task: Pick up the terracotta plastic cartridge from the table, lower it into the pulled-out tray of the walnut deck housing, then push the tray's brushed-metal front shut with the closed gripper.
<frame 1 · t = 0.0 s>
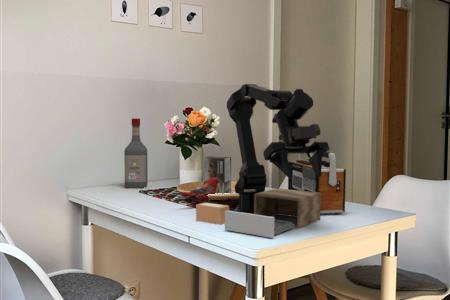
hand: (305, 177, 132), 15 cm above the table, tool tilted 35°, fingers open, 9 cm apart
liquor: (136, 187, 214), on the table
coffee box: (217, 200, 184), on the table
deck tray: (261, 219, 136), point 3 cm above the table, slide at 14.0 cm
deck housing: (287, 220, 148), on the table
decorative bird figurine: (199, 207, 168), on the table
cartridge: (212, 221, 146), on the table
radio cassette player: (314, 208, 170), on the table
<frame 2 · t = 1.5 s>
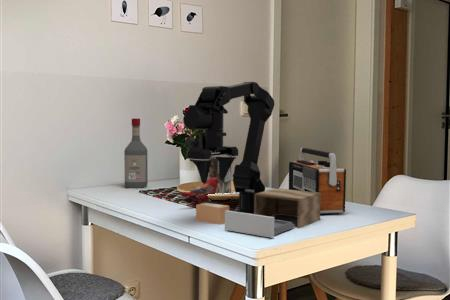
hand: (213, 181, 145), 12 cm above the table, tool pointing down, fingers open, 9 cm apart
nothing on the table moved.
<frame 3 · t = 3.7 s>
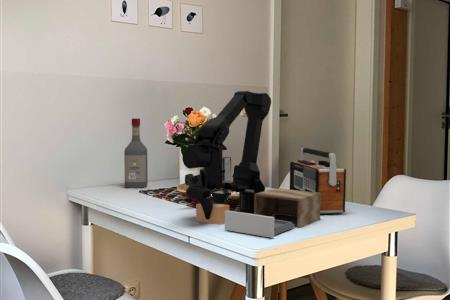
hand: (212, 217, 146), 1 cm above the table, tool pointing down, fingers closed on cartridge, 4 cm apart
cartridge: (212, 221, 146), on the table, touching gripper
everything else where it was.
when the fingers open (3 cm above the table, at t = 8.6 s): cartridge drops 1 cm, resting on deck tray.
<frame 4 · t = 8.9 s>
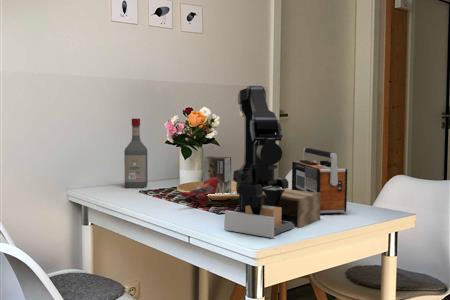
hand: (263, 216, 136), 3 cm above the table, tool pointing down, fingers open, 7 cm apart
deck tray: (261, 219, 136), point 3 cm above the table, slide at 14.0 cm, touching cartridge
cartridge: (263, 224, 136), point 1 cm above the table, touching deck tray
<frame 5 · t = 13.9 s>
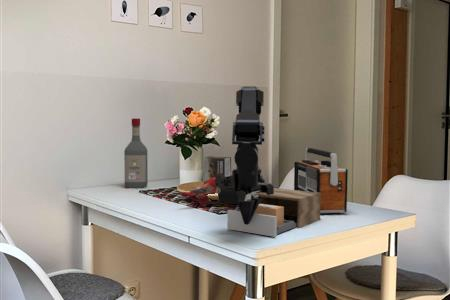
hand: (246, 224, 130), 3 cm above the table, tool pointing down, fingers closed
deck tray: (263, 218, 137), point 3 cm above the table, slide at 12.7 cm, touching cartridge, gripper
cartridge: (265, 223, 137), point 1 cm above the table, touching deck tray
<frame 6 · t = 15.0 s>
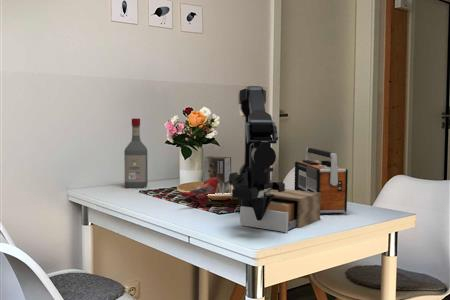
hand: (259, 220, 135), 3 cm above the table, tool pointing down, fingers closed
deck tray: (275, 215, 142), point 3 cm above the table, slide at 6.4 cm, touching cartridge, gripper
cartridge: (276, 219, 143), point 1 cm above the table, touching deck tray
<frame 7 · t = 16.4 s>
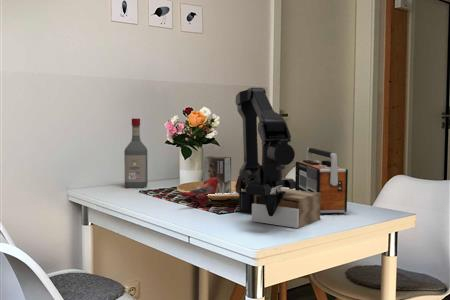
hand: (270, 216, 140), 3 cm above the table, tool pointing down, fingers closed
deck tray: (285, 211, 147), point 3 cm above the table, slide at 0.1 cm, touching cartridge
cartridge: (286, 216, 148), point 1 cm above the table, touching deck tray
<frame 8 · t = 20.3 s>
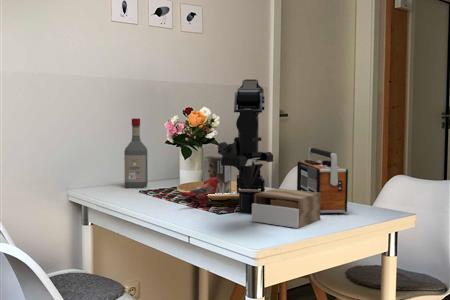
hand: (247, 189, 137), 11 cm above the table, tool pointing down, fingers closed
at the end: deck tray slide at 0.1 cm; cartridge inside the target area (0.0 cm from its centre), point 1.3 cm above the table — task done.
